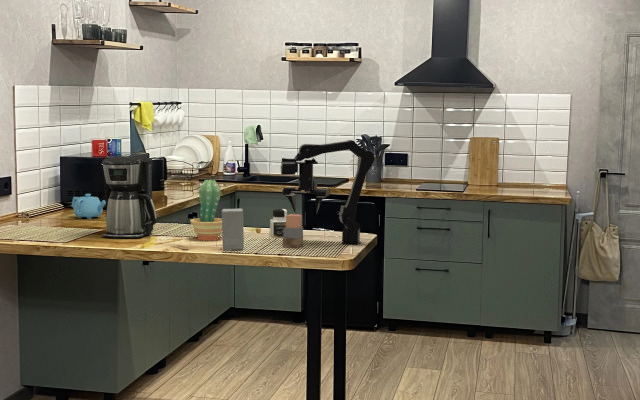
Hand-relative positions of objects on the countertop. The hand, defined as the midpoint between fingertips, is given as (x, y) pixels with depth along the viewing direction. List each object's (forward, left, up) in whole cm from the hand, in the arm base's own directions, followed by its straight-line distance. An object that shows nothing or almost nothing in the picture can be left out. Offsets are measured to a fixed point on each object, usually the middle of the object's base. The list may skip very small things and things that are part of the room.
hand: (305, 212), depth 357 cm
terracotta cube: (+2, +9, -5) cm, 11 cm away
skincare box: (+22, +24, -13) cm, 35 cm away
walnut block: (+2, +9, -13) cm, 16 cm away
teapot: (+124, -31, -13) cm, 128 cm away
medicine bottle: (+17, -14, -13) cm, 25 cm away
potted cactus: (+42, +5, -13) cm, 44 cm away
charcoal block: (+2, +9, -9) cm, 13 cm away
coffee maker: (+76, +6, -13) cm, 77 cm away
